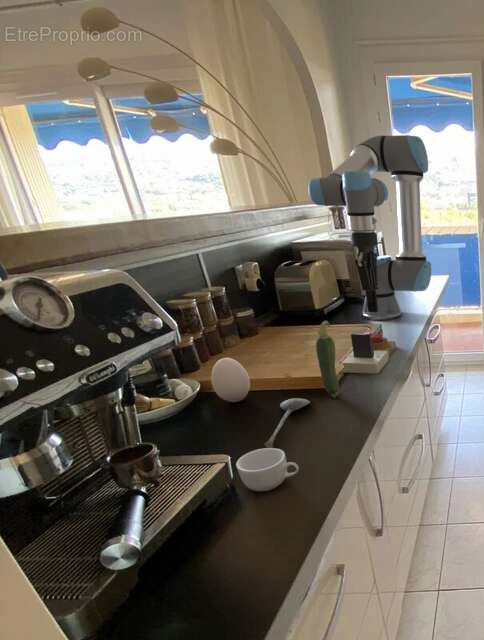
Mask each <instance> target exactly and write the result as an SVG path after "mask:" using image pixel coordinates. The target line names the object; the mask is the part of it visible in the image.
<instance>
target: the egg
mask: <svg viewBox="0 0 484 640" xmlns="http://www.w3.org/2000/svg"><path fill="white" fill-rule="evenodd" d="M210 379H211V386H212V388H213V390H214V393H216V395H217V396H218V397H219V398H220V399H222V400H224V401H226V402H229V403H238V402H241V401H243V400H244V399H246V397H247V395H248V393H249V391H250V388H251V379H250V377H249V373H248V372H247V370H246V369H245V368H244V367H243V365H242V364H241V363H240V362H239V361H237V360H235V359H233V358H231V357H223V358H220V359H219V360H218V361H216V363H214V365H213V367H212V371H211V376H210Z"/></svg>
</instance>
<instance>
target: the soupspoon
mask: <svg viewBox="0 0 484 640" xmlns="http://www.w3.org/2000/svg"><path fill="white" fill-rule="evenodd" d="M309 404H311V401H310V400H308V399H305V398H299V397H295V398H289V399H286V400H284V401H282V402H281V403H280V404H279V407H280V408H281V409H282V410H284V411H286V412H285V413H284V414H283V416H282V418H281V419H280V421H279V423H278V425H277V426H276V428H275V430H274V431H273V433H272V434H271V435H270V438H269V439H268V440H267V441H266V442H264V443H263V446H264V447H265V448H274V441H275V439H276V437H277V434H279V431H280V430H281V428H282V427H283V425H284V423H285V422H286V420H287V418H288V417H289V416H290V415H291V413H293V412H294V411H297V410H299V409H302V408H303V407H306V406H307V405H309Z"/></svg>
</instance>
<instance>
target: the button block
mask: <svg viewBox="0 0 484 640" xmlns="http://www.w3.org/2000/svg"><path fill="white" fill-rule="evenodd" d="M396 348H397V345H396V340H389V339H388V338H387V337H384V336H383V342H379V343H373V349H374V351H388V357H390V355H391V354H392V353H393V352H394V351H395V349H396Z"/></svg>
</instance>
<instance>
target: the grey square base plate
mask: <svg viewBox="0 0 484 640" xmlns="http://www.w3.org/2000/svg"><path fill="white" fill-rule="evenodd" d="M347 355H348V354H347ZM389 357H390V356H388V351H374V356H373V357H372V358H363V357H354V353H353V352H352V353H351V354H350V355H348V357H347V358H346V359H345V360H344V361H343V362H342V363H343V365H344V369H342V370H341V371H340V370H339V371H340V373H349V374H353V373H355V374H379V373H380V371H382V369H383V368H384V367H385V366H386V364H387V363H388V362H389V361H390V358H389Z"/></svg>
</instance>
